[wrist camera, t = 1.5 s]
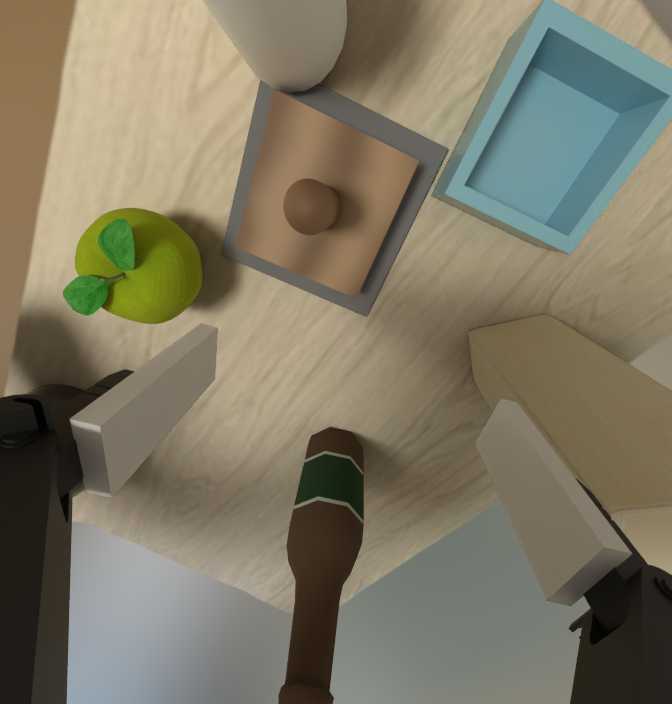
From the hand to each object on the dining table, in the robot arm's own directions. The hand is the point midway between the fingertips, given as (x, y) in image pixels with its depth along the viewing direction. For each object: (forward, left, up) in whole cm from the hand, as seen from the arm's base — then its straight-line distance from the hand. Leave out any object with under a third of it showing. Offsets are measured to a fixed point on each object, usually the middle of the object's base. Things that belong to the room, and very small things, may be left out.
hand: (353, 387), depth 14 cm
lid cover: (-6, +5, -19) cm, 20 cm away
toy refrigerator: (+18, 0, -19) cm, 26 cm away
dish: (+8, +15, -19) cm, 26 cm away
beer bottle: (+6, -21, -19) cm, 29 cm away
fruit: (-18, -5, -19) cm, 27 cm away
